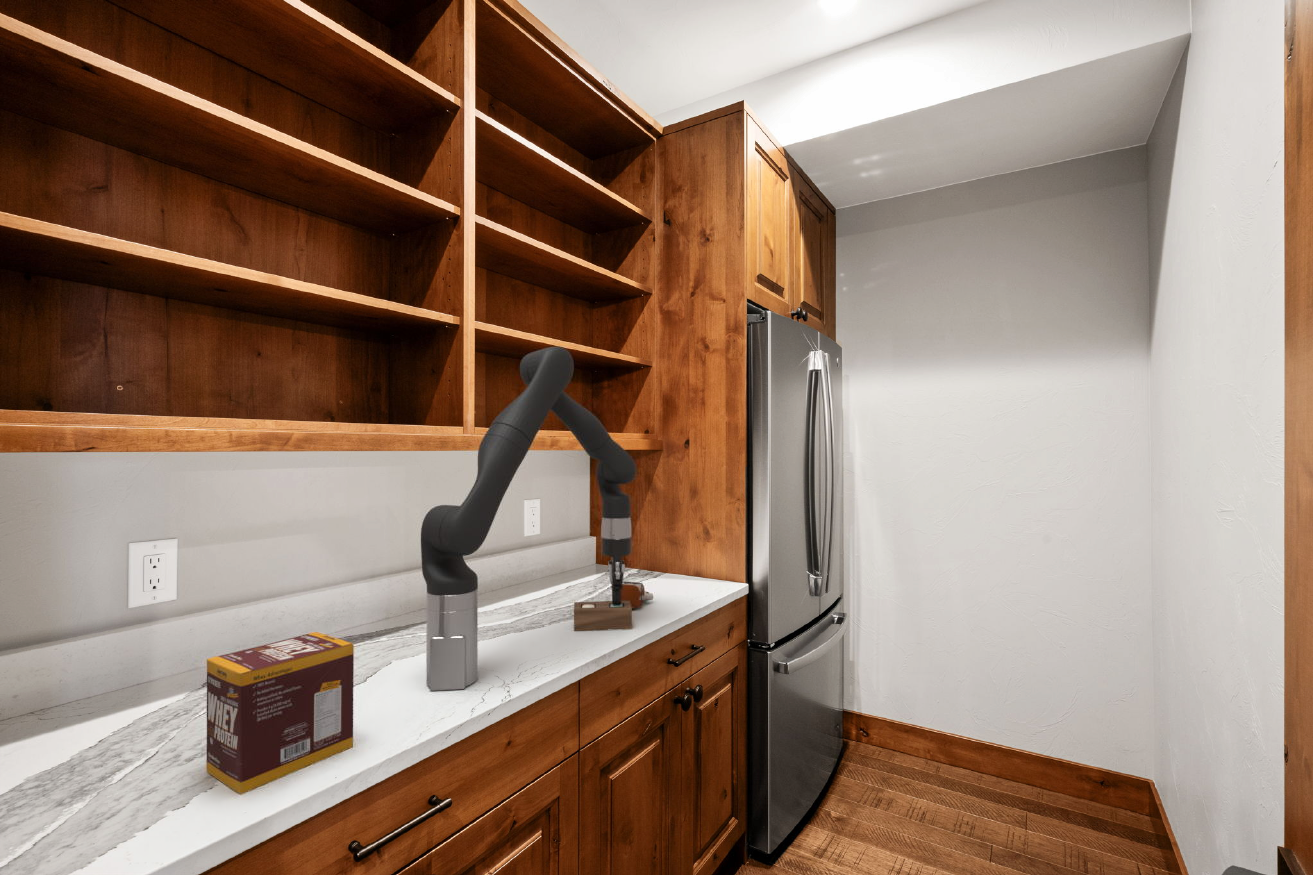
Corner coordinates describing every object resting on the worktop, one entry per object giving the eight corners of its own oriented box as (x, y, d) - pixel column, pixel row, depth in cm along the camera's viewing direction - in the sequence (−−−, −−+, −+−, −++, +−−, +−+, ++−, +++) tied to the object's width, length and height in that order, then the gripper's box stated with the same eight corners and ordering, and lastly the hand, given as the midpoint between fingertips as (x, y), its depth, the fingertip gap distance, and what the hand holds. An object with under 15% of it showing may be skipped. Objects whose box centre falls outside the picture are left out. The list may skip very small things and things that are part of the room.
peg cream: (594, 627, 151) (594, 607, 151) (582, 628, 151) (582, 607, 151) (594, 624, 154) (594, 604, 154) (582, 624, 154) (582, 604, 154)
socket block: (631, 629, 150) (631, 608, 150) (573, 631, 148) (573, 610, 148) (629, 619, 158) (629, 600, 158) (574, 621, 156) (574, 602, 156)
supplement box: (203, 772, 84) (204, 657, 84) (317, 729, 97) (318, 630, 97) (238, 796, 78) (239, 673, 78) (354, 747, 91) (355, 641, 91)
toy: (659, 581, 180) (641, 583, 166) (658, 605, 179) (640, 609, 165) (629, 579, 183) (610, 581, 169) (628, 603, 182) (608, 606, 168)
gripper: (600, 532, 160) (600, 598, 159) (602, 539, 147) (602, 612, 146) (629, 531, 161) (629, 597, 160) (633, 538, 147) (633, 611, 147)
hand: (616, 604), depth 153 cm, fingers closed
